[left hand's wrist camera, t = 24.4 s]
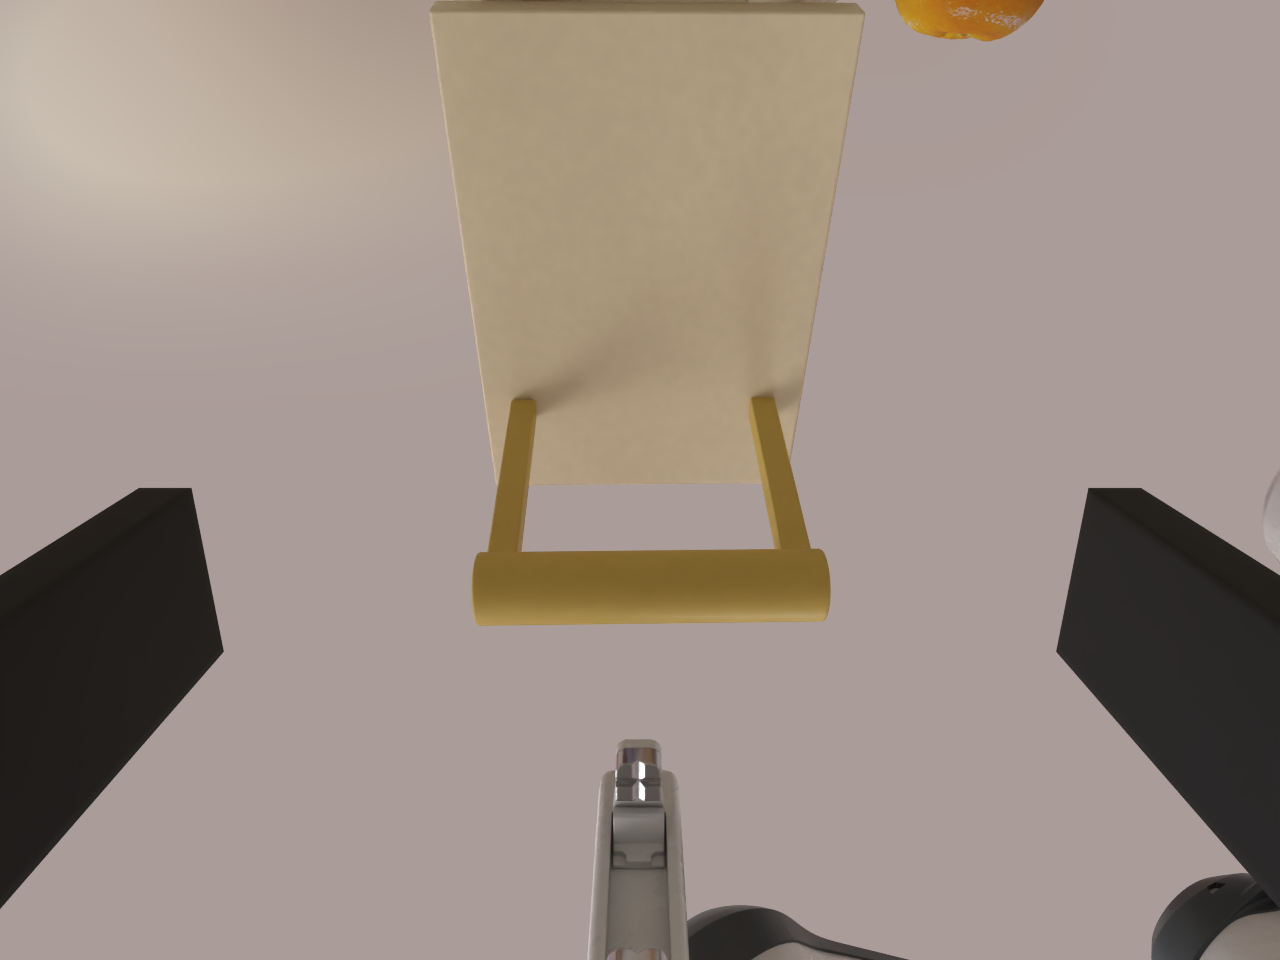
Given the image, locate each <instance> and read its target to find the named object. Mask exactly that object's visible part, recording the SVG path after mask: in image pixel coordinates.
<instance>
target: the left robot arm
mask: <svg viewBox="0 0 1280 960" xmlns="http://www.w3.org/2000/svg"><path fill="white" fill-rule="evenodd" d="M223 652H224V651H223V646H222V641H221V635H220V630H219V625H218V620H217V615H216V610H215V605H214V600H213V595H212V590H211V585H210V580H209V575H208V570H207V564H206V559H205V554H204V549H203V544H202V539H201V534H200V529H199V524H198V519H197V514H196V509H195V504H194V499H193V494H192V489H191V488H138V489H137V490H135V491H134V492H132V493H131V494H129V495H127V496H126V497H124V498H123V499H121V500H119V501H118V502H116V503H115V504H113V505H111V506H110V507H108V508H107V509H105V510H104V511H102V512H100V513H99V514H97V515H95V516H94V517H92V518H91V519H89V520H88V521H86V522H84V523H83V524H81V525H80V526H78V527H76V528H75V529H73V530H72V531H70V532H68V533H67V534H65V535H64V536H62V537H61V538H59V539H57V540H56V541H54V542H53V543H51V544H49V545H48V546H46V547H45V548H43V549H41V550H40V551H38V552H37V553H35V554H34V555H32V556H30V557H29V558H27V559H26V560H24V561H22V562H21V563H19V564H18V565H16V566H14V567H13V568H11V569H10V570H8V571H7V572H5V573H3V574H2V575H0V908H1V907H2V906H3V905H4V904H5V903H6V901H7V900H8V899H9V898H10V897H11V896H12V895H13V893H14V892H15V891H16V890H17V889H18V888H19V887H20V885H21V884H22V883H23V882H24V881H25V880H26V879H27V877H28V876H29V875H30V874H31V873H32V872H33V870H34V869H35V868H36V867H37V866H38V865H39V864H40V862H41V861H42V860H43V859H44V858H45V857H46V855H47V854H48V853H49V852H50V851H51V850H52V849H53V847H54V846H55V845H56V844H57V843H58V842H59V841H60V839H61V838H62V837H63V836H64V835H65V834H66V833H67V831H68V830H69V829H70V828H71V827H72V826H73V824H74V823H75V822H76V821H77V820H78V819H79V818H80V816H81V815H82V814H83V813H84V812H85V811H86V809H87V808H88V807H89V806H90V805H91V804H92V803H93V801H94V800H95V799H96V798H97V797H98V796H99V795H100V793H101V792H102V791H103V790H104V789H105V788H106V787H107V785H108V784H109V783H110V782H111V781H112V780H113V778H114V777H115V776H116V775H117V774H118V773H119V772H120V770H121V769H122V768H123V767H124V766H125V765H126V763H127V762H128V761H129V760H130V759H131V758H132V757H133V755H134V754H135V753H136V752H137V751H138V750H139V748H140V747H141V746H142V745H143V744H144V743H145V742H146V740H147V739H148V738H149V737H150V736H151V735H152V734H153V732H154V731H155V730H156V729H157V728H158V727H159V726H160V724H161V723H162V722H163V721H164V720H165V719H166V717H167V716H168V715H169V714H170V713H171V712H172V711H173V709H174V708H175V707H176V706H177V705H178V704H179V703H180V701H181V700H182V699H183V698H184V697H185V696H186V694H187V693H188V692H189V691H190V690H191V689H192V688H193V686H194V685H195V684H196V683H197V682H198V681H199V679H200V678H201V677H202V676H203V675H204V674H205V673H206V671H207V670H208V669H209V668H210V667H211V666H212V665H213V663H214V662H215V661H216V660H217V659H218V658H219V656H220V655H221V654H222V653H223ZM1056 652H1057V653H1058V654H1059V655H1060V657H1061V658H1062V659H1063V660H1064V661H1065V662H1066V663H1067V665H1068V666H1069V667H1070V668H1071V669H1072V670H1073V671H1074V673H1075V674H1076V675H1077V676H1078V677H1079V678H1080V680H1081V681H1082V682H1083V683H1084V684H1085V685H1086V686H1087V688H1088V689H1089V690H1090V691H1091V692H1092V693H1093V694H1094V696H1095V697H1096V698H1097V699H1098V700H1099V701H1100V703H1101V704H1102V705H1103V706H1104V707H1105V708H1106V709H1107V711H1108V712H1109V713H1110V714H1111V715H1112V716H1113V717H1114V719H1115V720H1116V721H1117V722H1118V723H1119V724H1120V725H1121V727H1122V728H1123V729H1124V730H1125V731H1126V732H1127V734H1128V735H1129V736H1130V737H1131V738H1132V739H1133V740H1134V742H1135V743H1136V744H1137V745H1138V746H1139V747H1140V749H1141V750H1142V751H1143V752H1144V753H1145V754H1146V755H1147V757H1148V758H1149V759H1150V760H1151V761H1152V762H1153V763H1154V765H1155V766H1156V767H1157V768H1158V769H1159V770H1160V772H1161V773H1162V774H1163V775H1164V776H1165V777H1166V778H1167V780H1168V781H1169V782H1170V783H1171V784H1172V785H1173V787H1174V788H1175V789H1176V790H1177V791H1178V792H1179V793H1180V795H1181V796H1182V797H1183V798H1184V799H1185V800H1186V801H1187V803H1188V804H1189V805H1190V806H1191V807H1192V808H1193V809H1194V811H1195V812H1196V813H1197V814H1198V815H1199V816H1200V818H1201V819H1202V820H1203V821H1204V822H1205V823H1206V824H1207V826H1208V827H1209V828H1210V829H1211V830H1212V831H1213V832H1214V834H1215V835H1216V836H1217V837H1218V838H1219V839H1220V841H1221V842H1222V843H1223V844H1224V845H1225V846H1226V847H1227V849H1228V850H1229V851H1230V852H1231V853H1232V854H1233V855H1234V857H1235V858H1236V859H1237V860H1238V861H1239V862H1240V864H1241V865H1242V866H1243V867H1244V868H1245V869H1246V870H1247V872H1248V873H1249V874H1250V875H1251V876H1252V877H1253V879H1254V880H1255V881H1256V882H1257V883H1258V884H1259V885H1260V887H1261V888H1262V889H1263V890H1264V891H1265V892H1266V893H1267V895H1268V896H1269V897H1270V898H1271V899H1272V900H1273V902H1274V903H1275V904H1276V905H1277V906H1278V907H1279V908H1280V575H1278V574H1277V573H1275V572H1274V571H1272V570H1270V569H1269V568H1267V567H1265V566H1264V565H1262V564H1261V563H1259V562H1258V561H1256V560H1254V559H1253V558H1251V557H1250V556H1248V555H1246V554H1245V553H1243V552H1242V551H1240V550H1238V549H1237V548H1235V547H1234V546H1232V545H1231V544H1229V543H1227V542H1226V541H1224V540H1223V539H1221V538H1219V537H1218V536H1216V535H1215V534H1213V533H1212V532H1210V531H1208V530H1207V529H1205V528H1204V527H1202V526H1200V525H1199V524H1197V523H1196V522H1194V521H1192V520H1191V519H1189V518H1188V517H1186V516H1184V515H1183V514H1181V513H1180V512H1178V511H1177V510H1175V509H1173V508H1172V507H1170V506H1169V505H1167V504H1165V503H1164V502H1162V501H1161V500H1159V499H1157V498H1156V497H1154V496H1153V495H1151V494H1150V493H1148V492H1146V491H1145V490H1143V489H1142V488H1089V489H1088V494H1087V499H1086V504H1085V509H1084V514H1083V519H1082V524H1081V529H1080V534H1079V539H1078V544H1077V549H1076V554H1075V559H1074V564H1073V570H1072V575H1071V580H1070V585H1069V590H1068V595H1067V600H1066V605H1065V610H1064V615H1063V620H1062V625H1061V630H1060V635H1059V641H1058V646H1057V651H1056Z"/></svg>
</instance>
